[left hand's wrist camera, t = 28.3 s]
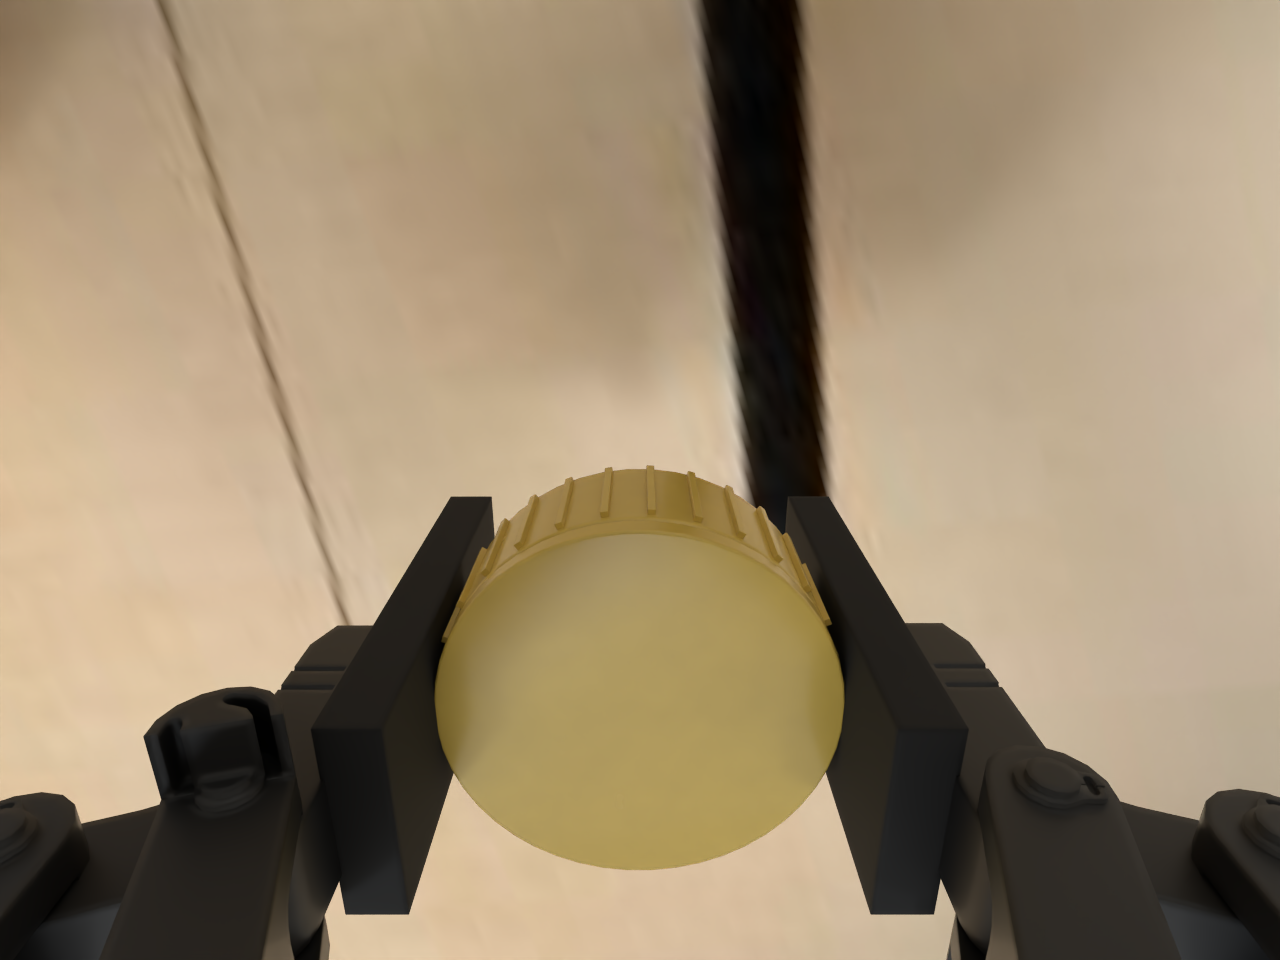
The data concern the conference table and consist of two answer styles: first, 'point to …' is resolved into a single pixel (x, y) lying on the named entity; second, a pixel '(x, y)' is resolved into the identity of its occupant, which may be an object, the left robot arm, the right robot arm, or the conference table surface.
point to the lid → (639, 673)
